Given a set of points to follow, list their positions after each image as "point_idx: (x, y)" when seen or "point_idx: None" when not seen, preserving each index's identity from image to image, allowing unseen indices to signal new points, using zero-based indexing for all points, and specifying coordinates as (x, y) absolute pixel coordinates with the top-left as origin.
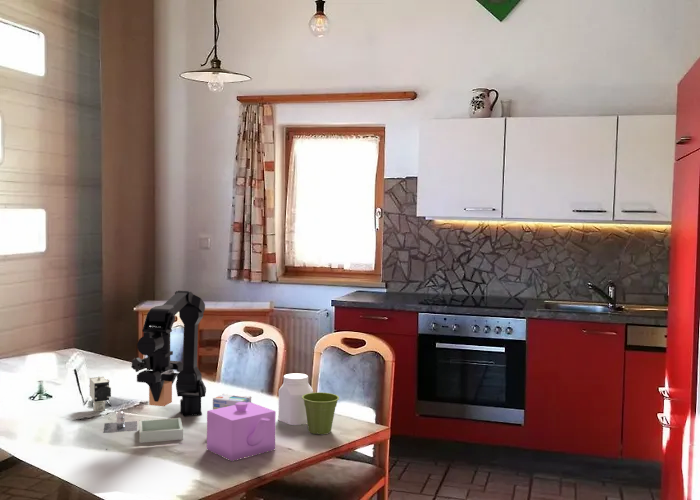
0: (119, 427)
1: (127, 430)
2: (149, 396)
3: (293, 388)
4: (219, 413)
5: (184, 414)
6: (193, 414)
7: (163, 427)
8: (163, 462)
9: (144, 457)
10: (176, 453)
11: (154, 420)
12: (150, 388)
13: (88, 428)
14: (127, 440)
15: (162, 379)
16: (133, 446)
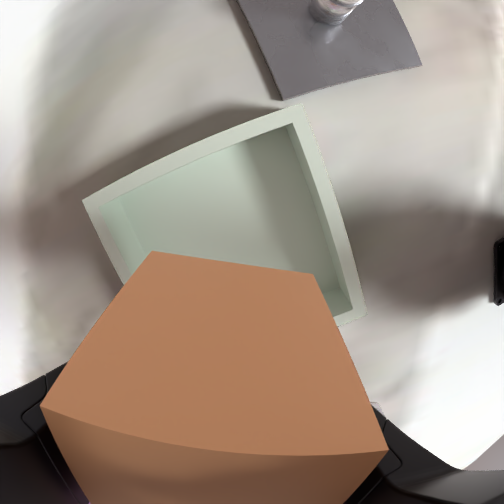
0: (310, 7)
1: (274, 54)
2: (120, 293)
3: None
4: None
5: (499, 250)
6: (496, 281)
7: (322, 229)
8: (10, 329)
9: (12, 265)
10: (73, 349)
11: (318, 192)
12: (10, 396)
13: None
14: (151, 107)
15: (379, 500)
16: (83, 174)
